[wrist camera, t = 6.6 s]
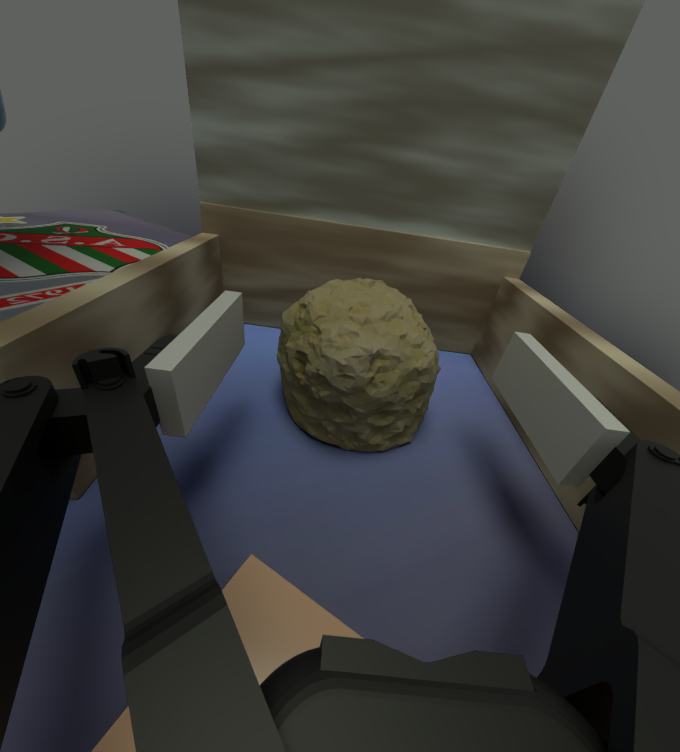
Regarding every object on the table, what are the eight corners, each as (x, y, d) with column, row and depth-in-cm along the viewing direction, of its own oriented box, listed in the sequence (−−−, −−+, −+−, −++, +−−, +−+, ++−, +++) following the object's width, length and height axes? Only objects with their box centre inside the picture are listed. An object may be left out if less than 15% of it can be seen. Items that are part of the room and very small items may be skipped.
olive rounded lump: (357, 395, 27) (306, 286, 23) (479, 385, 20) (432, 231, 17) (290, 474, 20) (206, 339, 17) (437, 496, 14) (348, 283, 10)
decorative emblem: (-14, 313, 20) (-141, 218, 31) (4, 345, 21) (-124, 243, 32) (222, 265, 33) (75, 212, 44) (223, 286, 35) (81, 229, 46)
